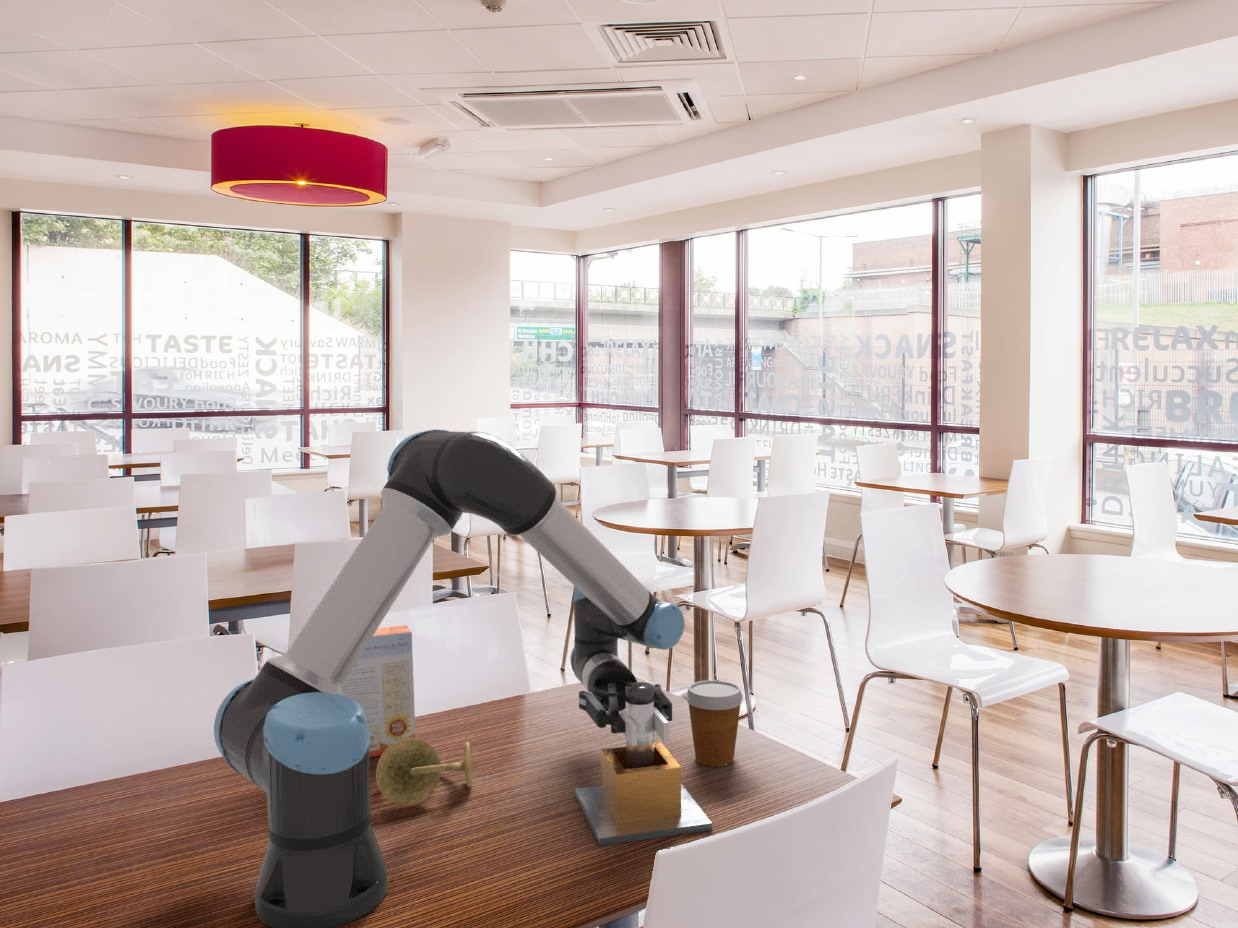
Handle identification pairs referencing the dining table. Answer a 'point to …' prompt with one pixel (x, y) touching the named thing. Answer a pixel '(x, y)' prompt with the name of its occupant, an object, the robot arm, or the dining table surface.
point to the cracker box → (385, 687)
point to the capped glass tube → (640, 724)
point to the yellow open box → (640, 800)
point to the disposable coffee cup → (714, 720)
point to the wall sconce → (414, 771)
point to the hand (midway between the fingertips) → (650, 733)
